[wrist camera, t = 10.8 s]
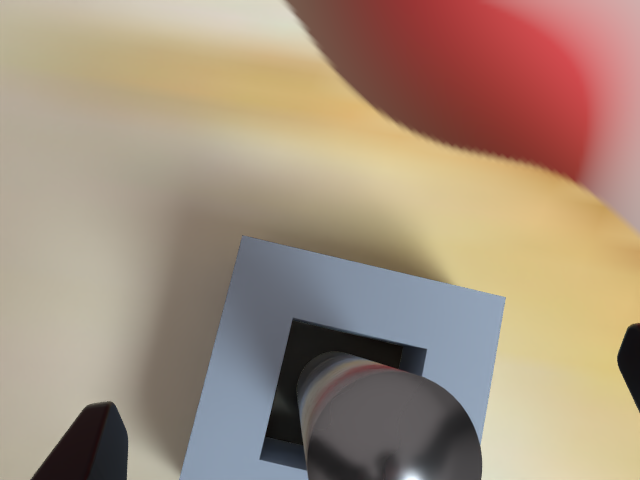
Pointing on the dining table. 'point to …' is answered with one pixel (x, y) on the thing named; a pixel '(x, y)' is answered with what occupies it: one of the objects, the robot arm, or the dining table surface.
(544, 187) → the dining table surface
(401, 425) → the peg
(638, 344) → the robot arm
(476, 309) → the hole block
